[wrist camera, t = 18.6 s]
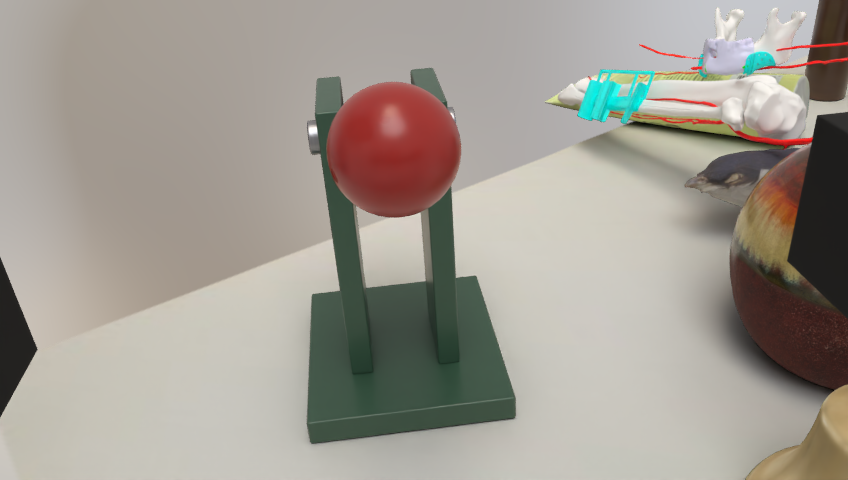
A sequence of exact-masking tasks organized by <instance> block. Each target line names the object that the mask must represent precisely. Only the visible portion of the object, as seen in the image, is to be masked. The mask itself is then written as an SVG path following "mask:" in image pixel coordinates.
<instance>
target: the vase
mask: <svg viewBox="0 0 848 480" xmlns="http://www.w3.org/2000/svg"><path fill="white" fill-rule="evenodd" d="M810 148H811V143H810V144H807V145H805V146H804V147H802V148H800V149H798V150H796V151H795V152H793V153H791V154H790V155H788V156H787V157H785V158H784V159H782V160H781V161H780V162H779V163H777V164H776V165H775V166H774V167H773V168H772V169H771V170H770V171H768V172H767V173H766V174H765V175H764V176H763V177H762V178H761V180H760V181H759V182H758V183H757V184H756V186H755V187H754V188H753V190H752V191H751V193H750V195H749V196H748V198H747V199H746V201H745V203H744V205H743V207H742V209H741V211H740V213H739V215H738V218H737V221H736V224H735V228H734V232H733V237H732V242H731V248H730V277H731V284H732V291H733V296H734V301H735V304H736V307H737V310H738V313H739V315H740V317H741V320H742V322H743V324H744V326H745V328H746V330H747V331H748V333H749V334H750V335H751V337H752V338H753V340H754V341H755V342H756V344H757V345H758V346H759V347H760V348H761V349H762V350H763V351H764V352H765V353H766V354H767V355H768V356H769V357H770V358H772V359H773V360H774V361H775V362H777V363H778V364H779V365H781V366H782V367H784V368H785V369H787V370H788V371H790V372H792V373H793V374H795V375H797V376H799V377H801V378H803V379H805V380H808V381H810V382H813V383H815V384H818V385H820V386H823V387H827V388H830V389H834V390H836V389H838V388H840V387H842V386H844V385H848V319H847V318H846V317H845V316H844V315H843V314H842V313H841V312H840V311H839V310H838V309H837V308H836V307H835V306H834V305H832V304H831V303H830V302H829V301H828V300H827V299H826V298H825V297H824V296H823V295H822V294H821V293H820V292H819V291H818V290H817V289H816V288H815V287H814V286H813V285H812V284H810V283H809V282H808V281H807V280H806V279H805V278H804V277H803V276H802V275H801V274H800V273H799V272H798V271H797V270H796V269H795V268H794V267H793V266H792V265H791V264H790V263H788V262H787V258H788V254H789V249H790V244H791V239H792V234H793V230H794V225H795V220H796V215H797V210H798V206H799V201H800V196H801V191H802V186H803V182H804V177H805V172H806V167H807V162H808V158H809V153H810Z"/></svg>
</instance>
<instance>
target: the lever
mask: <svg viewBox="0 0 848 480" xmlns="http://www.w3.org/2000/svg"><path fill="white" fill-rule="evenodd" d="M326 149H327V160H328V166H329V169H330V172H331V175H332V177H333V179H334V181H335V183H336V185H337V186H338V188H339V189H340V191H341V192H342V193H343V194H344V196H345V197H346V198H347V199H348V200H350V201H351V202H352V203H353V204H355V205H356V206H358V207H359V208H361V209H363V210H365V211H367V212H369V213H372V214H375V215H378V216H384V217H405V216H410V215H414V214H417V213H419V212H422V211H424V210H426V209H427V208H429V207H431V206H432V205H434V204H435V203H436V202H437V201H439V200H440V199H441V198H442V197H443V196H444V195H445V193H446V192H447V191H448V189H449V188H450V186H451V185H452V182H453V181H454V179H455V177H456V174H457V171H458V168H459V164H460V158H461V141H460V135H459V132H458V129H457V126H456V123H455V121H454V119H453V117H452V115H451V114H450V112H449V110H448V109H447V108H446V107H445V105H444V104H443V103H442V102H441V101H440V100H439V99H438V98H437V97H435V96H434V95H432V94H431V93H430V92H428V91H426V90H424V89H422V88H420V87H418V86H415V85H412V84H407V83H402V82H385V83H379V84H376V85H372V86H369V87H367V88H365V89H362V90H361V91H359V92H358V93H356V94H354V95H353V96H352V97H351V98H350V99H348V100H347V101H346V102H345V103H344V104H343V106H342V107H341V108H340V109H339V111H338V112H337V114H336V115H335V117H334V119H333V121H332V124H331V126H330V129H329V133H328V138H327V148H326Z"/></svg>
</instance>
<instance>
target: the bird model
mask: <svg viewBox="0 0 848 480" xmlns="http://www.w3.org/2000/svg"><path fill="white" fill-rule="evenodd" d="M798 149H800V148H791V149H784V150H782V149H769V150H764V151H745V152H739V153H733V154H728V155H725V156H721V157H719V158H717V159H715V160H714V161H712V162H711V163H710V164H709V165H708V167H707V168H706V169H705V170H704V171H702V172H701V173H699V174H697V177H694V178H692V179H690V180H689V181H688V182H687V183H686V184H685V187H690V188H696V189H699V190H700V191H701V193H702V192H705V193H709V194H710V195H711V196H712V197H715V198H718V199H720V200H723V201H726V202H729V203H732V204H735V205H737V206H740V207H743V205H744V203H745V201H746V199H747V198H748V196H749V195H750V193H751V191H752V190H753V188H754V187H755V186H756V184H757V183H758V182H759V181H760V180H761V178H762V177H763V176H764V175H765V174H766V173H767V172H768V171H770V170H771V169H772V168H773V167H774V166H775V165H776V164H777V163H779V162H780V161H781V160H782V159H784V158H785V157H787V156H788V155H790V154H791V153H793V152H795V151H796V150H798Z"/></svg>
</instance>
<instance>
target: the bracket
mask: <svg viewBox="0 0 848 480" xmlns="http://www.w3.org/2000/svg"><path fill="white" fill-rule="evenodd" d="M411 84H412V85H415V86H418V87H420V88H422V89H424V90H426V91H428V92H430V93H431V94H432V95H434V96H435V97H437V98H438V99H439V100H440V101H441V102H442V103H443V104H444V105H445V107H446V108H447V109H448V110H449V112H450V114H451V115H452V117H453V119H454V121H455V123H456V120H455V113H454V109H453V107H447V101H446V98H445V96H444V94H443V91H442V89H441V86H440V84H439V82H438V79H437V77H436V74H435V72H434V70H433V68H425V69H415V70H411ZM342 106H343V97H342V89H341V80H340V77H329V78H319V79H317V87H316V105H315V118H316V120H312V121H308V122H307V131H308V140H309V147H310V152H311V154H312V155H317V154H321V160H322V167H323V174H324V181H325V188H326V195H327V202H328V209H329V216H330V223H331V230H332V237H333V244H334V251H335V258H336V265H337V272H338V279H339V286H340V291H336V292H327V293H318V294H312V304H311V330H310V356H309V382H308V408H307V427H308V432H309V438H310V442H311V443H319V442H327V441H335V440H343V439H350V438H358V437H366V436H374V435H382V434H390V433H398V432H406V431H414V430H422V429H430V428H438V427H446V426H454V425H462V424H470V423H478V422H486V421H493V420H501V419H509V418H515V416H516V398H515V395H514V392H513V389H512V385H511V382H510V379H509V376H508V373H507V370H506V367H505V364H504V361H503V357H502V354H501V351H500V348H499V345H498V342H497V339H496V336H495V332H494V329H493V326H492V323H491V320H490V317H489V314H488V311H487V308H486V304H485V301H484V298H483V295H482V292H481V289H480V286H479V283H478V280H477V277H476V276H469V277H460V278H456V273H455V252H454V232H453V212H452V192H451V186H450V188H449V189H448V191H447V192H446V193H445V195H444V196H443V197H442V198H441V199H440V200H439V201H437V202H436V203H435V204H434V205H432V206H431V207H429V208H427V209H426V210H424V211H422V212H421V222H422V236H423V249H424V263H425V276H426V281H424V282H415V283H407V284H398V285H389V286H380V287H371V288H366V285H365V277H364V269H363V260H362V252H361V244H360V236H359V228H358V220H357V211H356V205H355V204H353V203H352V202H351V201H350V200H348V199H347V198H346V197H345V196H344V194H343V193H342V192H341V191H340V189H339V188H338V186H337V185H336V183H335V181H334V179H333V177H332V175H331V172H330V169H329V166H328V160H327V149H326V148H327V138H328V133H329V129H330V126H331V124H332V121H333V119H334V117H335V115H336V114H337V112H338V111H339V109H340V108H341V107H342Z"/></svg>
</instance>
